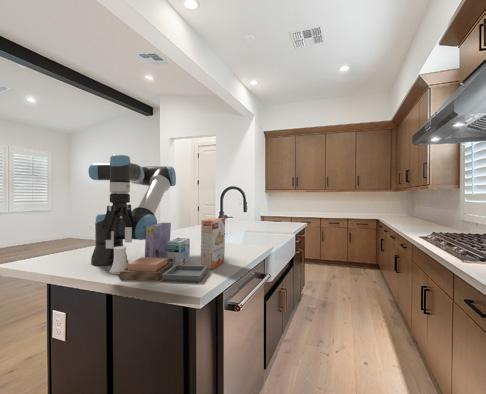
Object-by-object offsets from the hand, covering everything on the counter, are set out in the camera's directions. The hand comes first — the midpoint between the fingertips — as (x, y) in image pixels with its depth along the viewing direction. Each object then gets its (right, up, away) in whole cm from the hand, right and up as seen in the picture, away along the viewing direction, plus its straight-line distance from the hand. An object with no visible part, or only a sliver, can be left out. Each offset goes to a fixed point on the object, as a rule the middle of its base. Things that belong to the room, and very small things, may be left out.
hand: (119, 245), depth 109 cm
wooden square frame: (+13, -11, -3) cm, 17 cm away
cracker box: (+37, -11, +11) cm, 40 cm away
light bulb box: (+21, -11, +15) cm, 28 cm away
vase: (0, -11, 0) cm, 11 cm away
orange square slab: (+13, -8, -3) cm, 15 cm away
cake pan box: (+10, -11, +18) cm, 23 cm away
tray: (+29, -11, -5) cm, 31 cm away
